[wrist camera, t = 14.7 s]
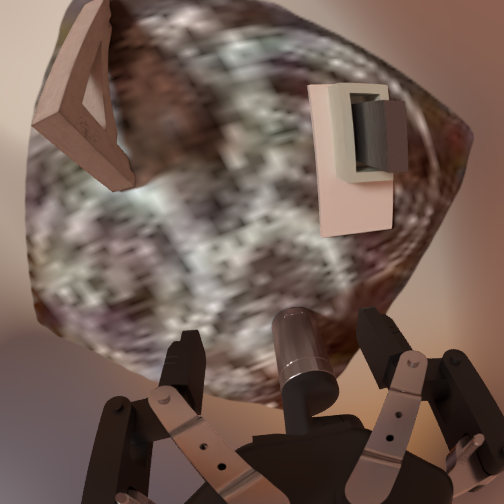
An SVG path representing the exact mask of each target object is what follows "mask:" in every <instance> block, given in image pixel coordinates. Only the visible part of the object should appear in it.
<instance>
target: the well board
mask: <svg viewBox="0 0 504 504" xmlns="http://www.w3.org/2000/svg"><path fill="white" fill-rule="evenodd" d="M307 87H308V95H309V102H310V111H311V119H312V128H313V138H314V148H315V159H316V171H317V184H318V199H319V216H320V236H321V237H322V238H324V237H331V236H339V235H346V234H354V233H362V232H369V231H377V230H385V229H392V214H393V173H387V172H385V171H382V170H379V169H377V168H374V167H371V166H369V165H366V164H363V163H360V162H357V161H356V159H355V144H354V131H353V120H352V110H351V104H355V103H362V102H370V101H377V100H389V95H388V87H387V85H380V84H362V83H337V84H324V85H308V86H307Z"/></svg>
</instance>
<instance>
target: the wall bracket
mask: <svg viewBox="0 0 504 504" xmlns="http://www.w3.org/2000/svg"><path fill="white" fill-rule="evenodd" d="M109 4H110V0H93V1H91V2H89V3H87V4H85V6H84V7H83V9H82V10H81V12H80V14H79V15H78V17H77V19H76V21H75V22H74V24H73V26H72V28H71V30H70V32H69V34H68V35H67V37H66V39H65V41H64V43H63V45H62V47H61V49H60V52H59V54H58V56H57V58H56V60H55V62H54V65H53V67H52V69H51V72H50V74H49V77H48V79H47V81H46V84H45V87H44V89H43V92H42V95H41V97H40V100H39V103H38V106H37V109H36V112H35V115H34V119H33V122H32V125H31V126H32V127H34V128H35V129H36V130H37V131H38V132H39V133H41V134H42V135H43V136H44V137H45V138H46V139H48V140H49V141H50V142H51V143H52V144H54V145H55V146H56V147H57V148H58V149H60V150H61V151H62V152H63V153H65V154H66V155H67V156H68V157H69V158H71V159H72V160H73V161H74V162H76V163H77V164H78V165H79V166H80V167H82V168H83V169H84V170H85V171H87V172H88V173H89V174H90V175H92V176H93V177H94V178H95V179H97V180H98V181H99V182H100V183H102V184H103V185H104V186H106V187H107V188H108V189H109V190H111V191H112V192H115V191H119V190H123V189H127V188H131V187H135V174H134V173H133V172H132V171H131V170H130V163H129V160H128V157H127V155H126V154H125V153H124V151H123V150H122V149H121V148H120V147H119V146H118V145H117V134H118V133H117V129H116V124H115V119H114V115H113V110H112V105H111V97H110V89H109V80H108V49H109V43H110V38H111V33H112V26H111V24H110V22H109V20H110V18H111V11H110V5H109Z"/></svg>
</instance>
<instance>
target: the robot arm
mask: <svg viewBox="0 0 504 504" xmlns="http://www.w3.org/2000/svg"><path fill="white" fill-rule="evenodd" d="M272 333H273V341H274V348H275V354H276V361H277V367H278V374H279V380H280V387H281V394H282V401H283V411H284V420H285V428H286V434H268V435H259V436H253V442H252V443H249V444H246V445H244V446H242V447H240V448H238V449H237V450H235V451H234V450H233V449H232V448H231V447H230V446H229V445H228V444H227V443H226V442H225V441H224V440H223V439H222V438H221V437H220V436H219V435H218V434H217V433H216V432H215V430H214V429H213V428H212V427H211V426H210V425H209V424H208V423H207V422H206V421H205V420H204V419H203V418H202V417H199V416H198V415H201V409H202V408H201V407H202V398H203V388H204V378H205V369H206V355H205V351H204V347H203V344H202V341H201V337H200V334H199V331H198V330H187V331H183V332H182V335H181V340H180V341H174V342H173V343H172V344H171V346H170V347H169V348H168V351H167V354H166V358H165V362H164V363H165V364H164V366H163V370H162V374H161V378H160V382H159V386H158V387H157V388H155V389H154V390H153V391H152V392H151V393H150V394H149V397H148V398H146V399H142V400H138V401H134V402H130V400H129V399H128V398H126V397H123V396H116V397H113V398H111V399H110V400H108V401H107V403H106V404H105V406H104V409H103V412H102V416H101V419H100V423H99V426H98V430H97V434H96V438H95V442H94V446H93V450H92V454H91V458H90V462H89V467H88V471H87V476H86V481H85V486H84V491H83V496H82V502H81V504H156V503H154V502H153V501H152V500H150V499H149V498H148V489H149V477H150V467H151V457H152V448H153V441H157V440H161V439H165V438H169V437H171V438H172V440H173V441H174V442H175V444H176V445H177V446H178V448H179V449H180V450H181V452H182V453H183V454H184V456H185V457H186V458H187V459H188V460H189V462H190V463H191V464H192V466H193V467H194V468H195V469H196V471H197V472H198V473H199V474H200V475H201V476H202V478H203V479H204V480H205V481H206V482H205V483H204V484H203V485H202V486H201V487H200V488H199V489H198V490H197V491H196V492H195V493H194V494H193V495H192V496H191V497H190V498H189V499H188V500H187V501H186V502H185V503H184V504H452V500H453V498H455V497H457V496H459V495H461V494H463V493H465V492H467V491H468V492H475V491H478V490H479V489H481V488H482V487H483V486H485V485H486V484H487V483H489V482H490V481H491V480H493V479H494V478H495V477H497V476H498V475H499V474H500V473H501V472H502V471H504V416H503V414H502V412H501V411H500V409H499V407H498V406H497V404H496V402H495V400H494V398H493V397H492V395H491V393H490V392H489V390H488V388H487V387H486V385H485V384H484V382H483V380H482V379H481V377H480V376H479V374H478V372H477V371H476V369H475V368H474V366H473V365H472V363H471V362H470V360H469V359H468V357H467V356H466V355H465V354H464V353H463V352H462V351H460V350H456V349H451V350H448V351H446V352H445V353H444V355H443V357H442V358H432V359H429V358H426V356H425V355H424V354H422V353H421V352H419V351H414V350H412V348H411V346H410V345H409V343H408V342H407V340H406V339H405V337H404V336H403V335H402V333H401V332H400V330H399V328H398V327H397V326H396V324H395V323H394V321H393V320H392V319H391V318H390V317H388V316H387V315H385V314H381V315H380V314H379V312H378V311H377V309H376V308H375V307H374V306H371V307H366V308H361V309H359V313H358V322H357V330H356V337H357V342H358V344H359V347H360V349H361V351H362V353H363V355H364V357H365V359H366V361H367V363H368V365H369V367H370V370H371V372H372V374H373V376H374V378H375V380H376V382H377V384H378V387H379V389H383V388H388V390H389V391H388V394H387V397H386V399H385V402H384V404H383V407H382V410H381V412H380V415H379V417H378V419H377V422H376V425H375V426H374V429H373V431H371V430H369V429H365V428H364V426H363V424H362V422H361V421H360V419H359V418H358V417H356V416H354V415H350V414H343V415H333V416H323V417H312V416H314V415H316V414H318V413H321V412H323V411H325V410H326V409H328V408H329V407H331V406H332V405H333V404H334V403H335V401H336V400H337V398H338V396H339V387H338V384H337V381H336V378H335V375H334V372H333V369H332V366H331V363H330V360H329V357H328V354H327V351H326V349H325V346H324V343H323V340H322V337H321V334H320V331H319V328H318V326H317V323H316V320H315V317H314V315H313V314H312V313H311V312H310V311H309V310H307V309H304V308H299V307H294V308H289V309H286V310H284V311H282V312H280V313H279V314H278V315H277V316H276V317H275V318H274V320H273V322H272ZM421 401H428V402H429V404H430V406H431V409H432V411H433V413H434V415H435V418H436V420H437V422H438V425H439V427H440V429H441V432H442V434H443V436H444V438H445V441H446V444H447V446H448V449H449V451H450V452H449V453H448V455H447V457H446V472H445V471H444V470H443V469H441V468H439V467H437V466H435V465H433V464H431V463H429V462H427V461H425V460H423V459H422V458H420V457H418V456H416V455H414V454H412V453H410V452H409V451H407V450H406V448H407V445H408V442H409V439H410V436H411V433H412V430H413V427H414V423H415V420H416V417H417V413H418V410H419V405H420V402H421Z"/></svg>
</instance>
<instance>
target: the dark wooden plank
mask: <svg viewBox="0 0 504 504" xmlns="http://www.w3.org/2000/svg"><path fill="white" fill-rule="evenodd" d="M351 110H352V120H353V131H354V144H355V159H356V161H357V162H360V163H363V164H366V165H369V166H371V167H374V168H377V169H379V170H382V171H385V172H387V173H398V172H408V139H407V121H406V108H405V101H395V100H377V101H370V102H362V103H355V104H351Z"/></svg>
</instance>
